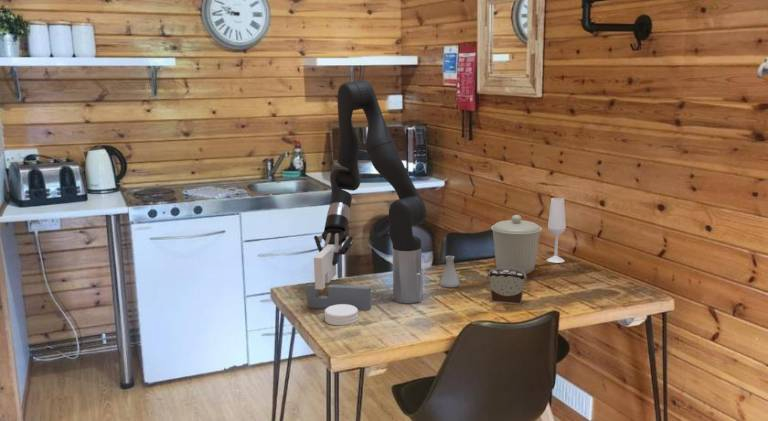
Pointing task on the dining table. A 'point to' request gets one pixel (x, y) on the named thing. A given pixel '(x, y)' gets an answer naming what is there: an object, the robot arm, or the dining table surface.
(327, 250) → the white slotted plate
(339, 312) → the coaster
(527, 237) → the canister
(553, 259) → the champagne flute
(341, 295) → the grey slotted plate
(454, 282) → the flask
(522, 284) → the food container
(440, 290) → the dining table surface
